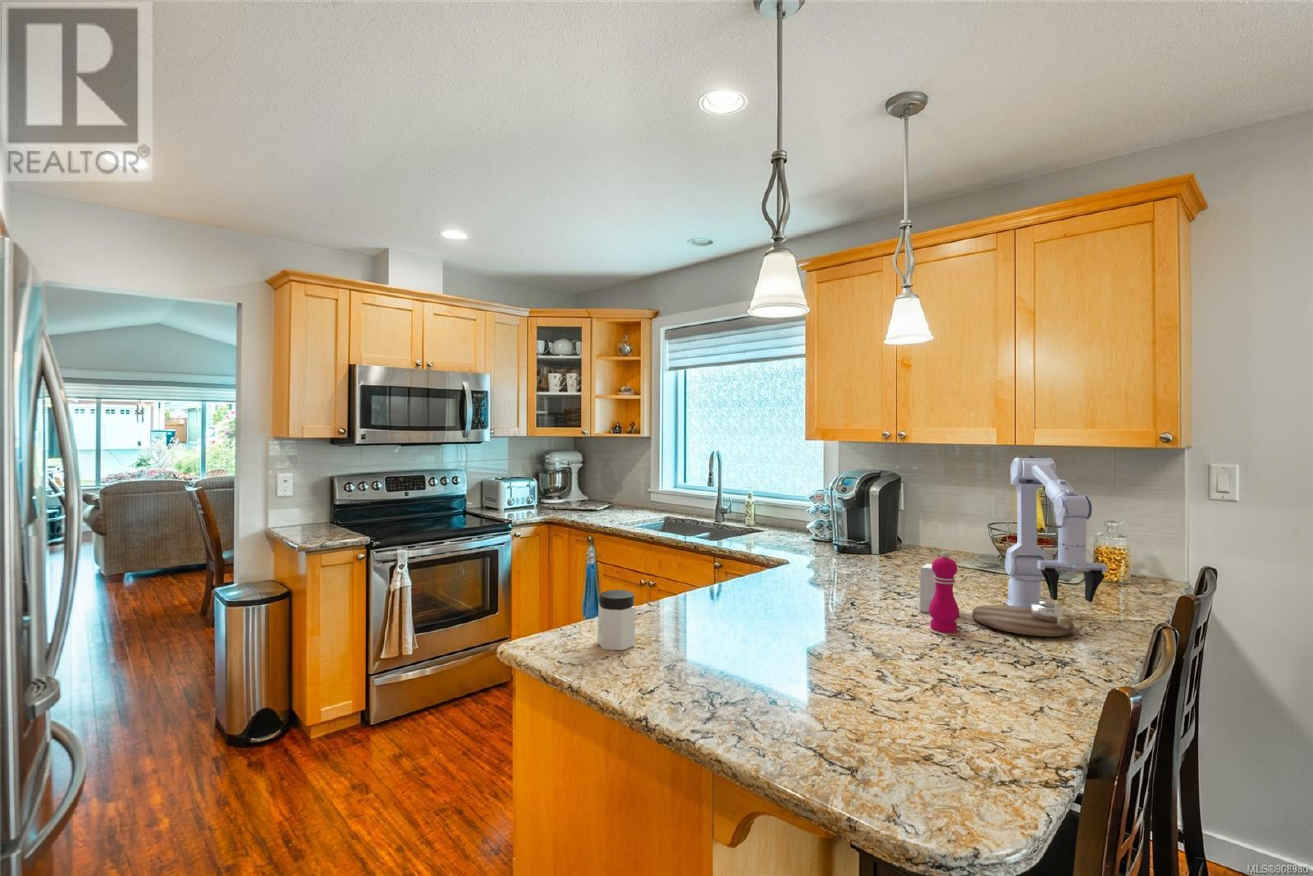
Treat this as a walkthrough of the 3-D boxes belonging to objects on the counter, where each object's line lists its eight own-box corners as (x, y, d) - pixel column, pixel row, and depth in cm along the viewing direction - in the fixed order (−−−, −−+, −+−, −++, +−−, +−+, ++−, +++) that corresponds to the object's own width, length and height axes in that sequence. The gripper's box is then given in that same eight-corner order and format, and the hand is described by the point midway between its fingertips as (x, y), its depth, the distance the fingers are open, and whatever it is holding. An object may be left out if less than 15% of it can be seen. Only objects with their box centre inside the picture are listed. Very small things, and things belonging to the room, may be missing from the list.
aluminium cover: (1026, 614, 165) (1026, 597, 165) (1055, 616, 163) (1055, 599, 163) (1037, 622, 158) (1037, 604, 158) (1067, 624, 157) (1067, 606, 157)
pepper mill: (952, 625, 162) (953, 549, 162) (963, 634, 154) (964, 554, 154) (924, 624, 162) (925, 548, 162) (933, 632, 155) (935, 553, 155)
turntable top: (962, 606, 176) (962, 594, 176) (1051, 612, 171) (1051, 599, 171) (988, 632, 153) (988, 618, 153) (1091, 639, 148) (1091, 624, 148)
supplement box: (947, 616, 169) (947, 570, 169) (918, 611, 174) (919, 567, 174) (953, 610, 175) (953, 566, 175) (925, 605, 180) (926, 562, 180)
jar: (595, 640, 147) (595, 590, 147) (628, 637, 150) (628, 588, 150) (603, 653, 139) (603, 600, 139) (638, 649, 141) (638, 597, 141)
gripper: (1045, 546, 148) (1045, 602, 148) (1114, 549, 144) (1113, 606, 145) (1034, 541, 154) (1033, 594, 155) (1099, 543, 151) (1098, 598, 152)
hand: (1071, 600), depth 150 cm, fingers open, 7 cm apart
